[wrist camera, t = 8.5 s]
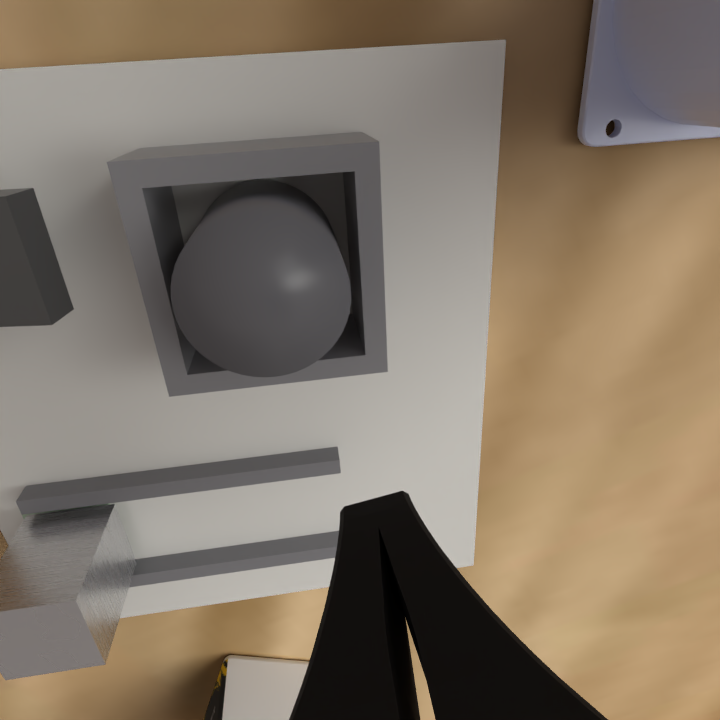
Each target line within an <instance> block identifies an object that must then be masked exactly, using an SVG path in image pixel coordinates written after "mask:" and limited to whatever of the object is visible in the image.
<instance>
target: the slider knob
mask: <svg viewBox="0 0 720 720" xmlns="http://www.w3.org/2000/svg"><path fill="white" fill-rule="evenodd" d="M135 567H136V560H135V557H134V555H133V552H132V549H131V546H130V544H129V541H128V538H127V535H126V533H125V530H124V527H123V524H122V522H121V519H120V516H119V513H118V511H117V508H116V505H115V504H110V505H102V506H94V507H87V508H79V509H71V510H64V511H56V512H48V513H41V514H33V515H27V516H26V517H25V519H24V521H23V522H22V524H21V526H20V527H19V529H18V531H17V532H16V534H15V536H14V537H13V539H12V541H11V542H10V544H9V546H8V547H7V549H6V551H5V552H4V554H3V556H2V557H1V559H0V672H1V674H2V676H3V677H4V679H5V680H9V679H16V678H22V677H28V676H35V675H41V674H48V673H54V672H60V671H67V670H73V669H80V668H86V667H92V666H99V665H105V664H106V661H107V658H108V654H109V651H110V648H111V645H112V641H113V638H114V635H115V632H116V628H117V625H118V622H119V619H120V615H121V612H122V609H123V606H124V602H125V599H126V596H127V593H128V589H129V586H130V583H131V580H132V576H133V573H134V570H135Z"/></svg>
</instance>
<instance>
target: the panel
mask: <svg viewBox="0 0 720 720" xmlns="http://www.w3.org/2000/svg"><path fill="white" fill-rule="evenodd" d="M505 49H506V40H489V41H472V42H455V43H438V44H421V45H404V46H387V47H370V48H353V49H336V50H319V51H302V52H285V53H268V54H251V55H234V56H217V57H200V58H183V59H166V60H149V61H132V62H115V63H98V64H81V65H64V66H47V67H30V68H13V69H0V190H4V189H23V188H34V191H35V194H36V197H37V200H38V203H39V206H40V209H41V212H42V215H43V218H44V221H45V224H46V227H47V230H48V233H49V236H50V239H51V242H52V245H53V248H54V251H55V254H56V257H57V260H58V263H59V266H60V269H61V272H62V275H63V278H64V281H65V284H66V287H67V290H68V293H69V296H70V299H71V302H72V305H73V308H74V310H72V311H71V312H69V313H68V314H67V315H65V316H64V317H63V318H61V319H60V320H58V321H57V322H56V323H54V324H53V325H44V326H16V327H0V530H1V532H2V534H3V536H4V538H5V540H6V541H7V543H8V545H9V544H10V542H11V541H12V539H13V537H14V536H15V534H16V532H17V531H18V529H19V527H20V526H21V524H22V522H23V521H24V519H25V517H26V516H27V515H33V514H41V513H48V512H56V511H64V510H71V509H79V508H87V507H94V506H102V505H110V504H115V505H116V508H117V511H118V513H119V516H120V519H121V522H122V524H123V527H124V530H125V533H126V535H127V538H128V541H129V544H130V546H131V549H132V552H133V555H134V557H135V560H136V567H135V570H134V573H133V576H132V580H131V583H130V586H129V589H128V593H127V596H126V599H125V602H124V606H123V609H122V612H121V615H120V618H125V617H131V616H138V615H145V614H151V613H158V612H165V611H171V610H178V609H185V608H191V607H198V606H205V605H212V604H218V603H225V602H232V601H238V600H245V599H252V598H258V597H265V596H272V595H278V594H285V593H292V592H299V591H305V590H312V589H319V588H325V587H329V586H330V581H331V577H332V572H333V567H334V561H335V556H336V550H337V543H338V535H339V525H340V511H341V510H342V509H343V507H344V506H348V505H351V504H355V503H359V502H362V501H366V500H370V499H374V498H377V497H381V496H385V495H388V494H392V493H396V492H399V491H404V492H406V493H408V494H409V496H410V498H411V501H412V503H413V505H414V507H415V509H416V510H417V512H418V514H419V516H420V517H421V519H422V521H423V522H424V524H425V526H426V527H427V529H428V530H429V532H430V533H431V535H432V536H433V538H434V539H435V540H436V542H437V543H438V545H439V546H440V547H441V549H442V550H443V552H444V553H445V554H446V555H447V557H448V558H449V559H450V561H451V562H452V563H453V565H454V566H455V567H456V568H459V567H466V566H472V565H474V549H475V533H476V517H477V500H478V484H479V468H480V452H481V436H482V420H483V404H484V388H485V371H486V355H487V339H488V323H489V307H490V291H491V275H492V259H493V242H494V226H495V210H496V194H497V178H498V162H499V146H500V130H501V113H502V97H503V81H504V65H505ZM255 180H271V181H278V182H282V183H286V184H288V185H291V186H293V187H296V188H297V189H299V190H301V191H303V192H304V193H305V194H307V195H308V196H309V197H311V198H312V199H313V200H314V201H315V202H316V203H317V204H318V205H319V206H320V208H321V209H322V210H323V211H324V213H325V215H326V216H327V218H328V220H329V222H330V225H331V227H332V229H333V232H334V235H335V238H336V241H337V244H338V247H339V249H340V252H341V255H342V258H343V261H344V264H345V266H346V269H347V273H348V276H349V280H350V287H351V306H350V313H349V317H348V320H347V323H346V325H345V328H344V330H343V332H342V334H341V336H340V337H339V339H338V341H337V342H336V343H335V344H334V346H333V347H332V348H331V349H330V350H329V351H328V352H327V353H326V354H325V355H324V356H323V357H322V358H320V359H319V360H318V361H316V362H315V363H313V364H312V365H310V366H308V367H306V368H304V369H302V370H299V371H297V372H294V373H291V374H287V375H283V376H277V377H252V376H246V375H241V374H237V373H234V372H231V371H228V370H226V369H224V368H221V367H219V366H218V365H216V364H214V363H212V362H211V361H209V360H208V359H207V358H205V357H204V356H203V355H201V354H200V353H199V352H198V351H197V350H196V349H195V348H194V347H193V346H192V345H191V343H190V342H189V341H188V340H187V338H186V337H185V335H184V334H183V332H182V331H181V329H180V327H179V325H178V322H177V320H176V318H175V314H174V311H173V307H172V301H171V280H172V274H173V270H174V266H175V263H176V261H177V259H178V257H179V254H180V253H181V251H182V249H183V248H184V246H185V245H186V243H187V241H188V240H189V238H190V237H191V235H192V233H193V232H194V230H195V229H196V227H197V225H198V224H199V222H200V221H201V219H202V217H203V216H204V214H205V213H206V211H207V209H208V208H209V206H210V205H211V204H212V203H213V202H214V201H215V199H216V198H218V197H219V196H220V195H221V194H222V193H224V192H225V191H227V190H228V189H230V188H232V187H234V186H236V185H239V184H242V183H245V182H249V181H255Z"/></svg>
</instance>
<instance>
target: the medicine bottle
mask: <svg viewBox="0 0 720 720" xmlns="http://www.w3.org/2000/svg"><path fill="white" fill-rule="evenodd" d="M308 664H309V661H298V660H286V659H274V658H263V657H251V656H239V655H229V656H227V657H226V658H225V659H224V661H223V664H222V667H221V670H220V673H219V676H218V678H217V681H216V684H215V687H214V690H213V693H212V696H211V699H210V702H209V705H208V708H207V711H206V714H205V717H204V720H289V718H290V716H291V713H292V710H293V708H294V705H295V702H296V699H297V696H298V694H299V691H300V688H301V685H302V682H303V679H304V676H305V673H306V670H307V667H308Z"/></svg>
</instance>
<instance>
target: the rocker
mask: <svg viewBox="0 0 720 720" xmlns="http://www.w3.org/2000/svg"><path fill="white" fill-rule="evenodd" d="M72 310H74V308H73V305H72V302H71V299H70V296H69V293H68V290H67V287H66V284H65V281H64V278H63V275H62V272H61V269H60V266H59V263H58V260H57V257H56V254H55V251H54V248H53V245H52V242H51V239H50V236H49V233H48V230H47V227H46V224H45V221H44V218H43V215H42V212H41V209H40V206H39V203H38V200H37V197H36V194H35V191H34V188H23V189H4V190H0V327H16V326H44V325H53V324H54V323H56V322H57V321H58V320H60V319H61V318H63V317H64V316H65V315H67V314H68V313H69V312H71V311H72Z"/></svg>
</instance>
